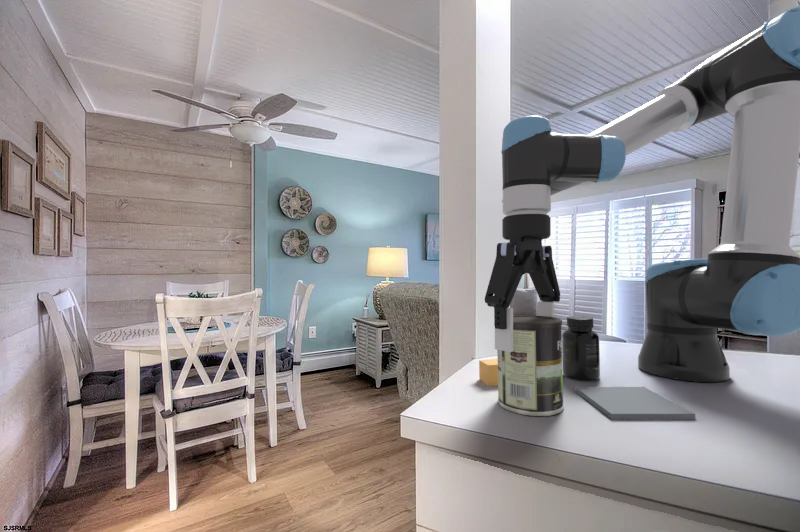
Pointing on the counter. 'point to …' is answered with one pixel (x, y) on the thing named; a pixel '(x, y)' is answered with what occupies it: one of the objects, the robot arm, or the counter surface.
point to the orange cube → (489, 371)
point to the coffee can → (532, 367)
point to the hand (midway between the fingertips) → (526, 344)
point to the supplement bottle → (580, 350)
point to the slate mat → (633, 403)
